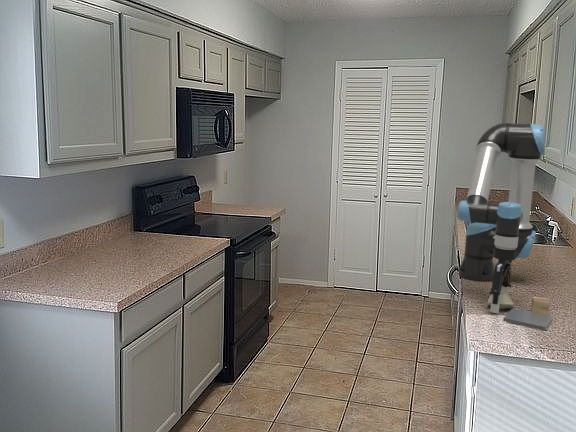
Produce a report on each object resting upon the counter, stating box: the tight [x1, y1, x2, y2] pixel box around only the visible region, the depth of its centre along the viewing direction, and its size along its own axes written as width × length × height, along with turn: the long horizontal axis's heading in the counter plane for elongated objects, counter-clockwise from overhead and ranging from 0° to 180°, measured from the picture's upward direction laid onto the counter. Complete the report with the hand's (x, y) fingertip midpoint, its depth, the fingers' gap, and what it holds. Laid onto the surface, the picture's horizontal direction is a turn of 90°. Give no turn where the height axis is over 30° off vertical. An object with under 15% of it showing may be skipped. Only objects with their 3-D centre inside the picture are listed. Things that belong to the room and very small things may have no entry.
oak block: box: [530, 296, 550, 315], centre depth 198 cm, size 5×5×5 cm
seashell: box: [486, 288, 516, 310], centre depth 202 cm, size 8×8×8 cm
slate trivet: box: [502, 307, 554, 331], centre depth 190 cm, size 13×13×1 cm
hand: (498, 308), depth 201 cm, fingers open, 11 cm apart
